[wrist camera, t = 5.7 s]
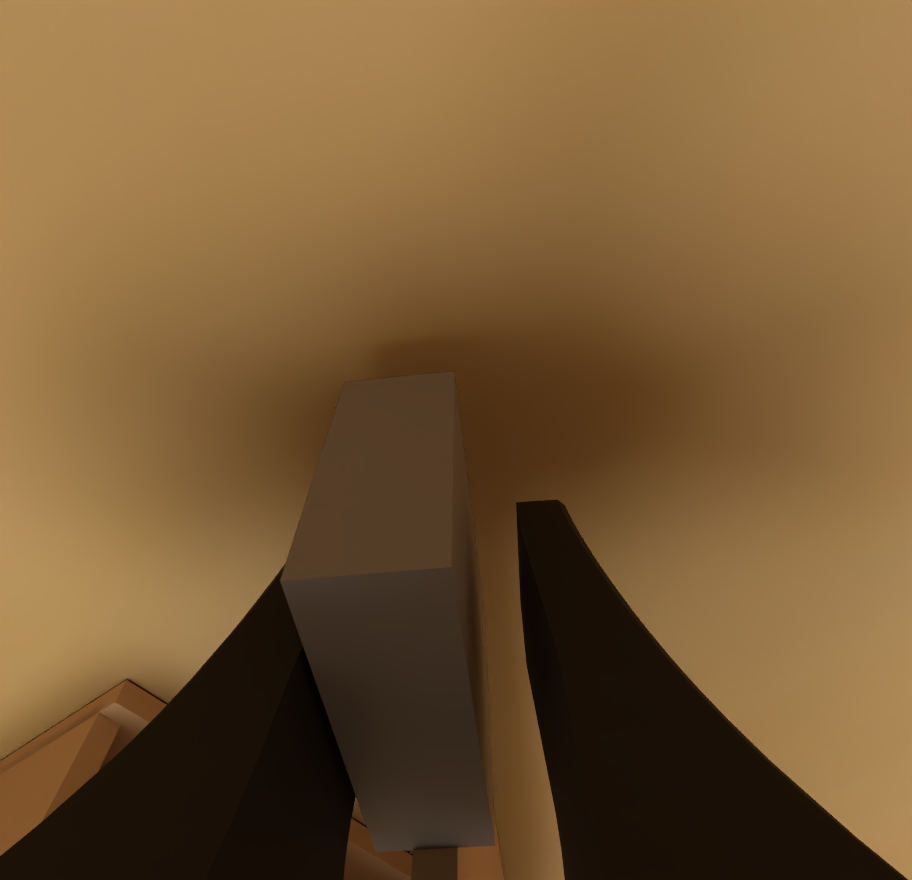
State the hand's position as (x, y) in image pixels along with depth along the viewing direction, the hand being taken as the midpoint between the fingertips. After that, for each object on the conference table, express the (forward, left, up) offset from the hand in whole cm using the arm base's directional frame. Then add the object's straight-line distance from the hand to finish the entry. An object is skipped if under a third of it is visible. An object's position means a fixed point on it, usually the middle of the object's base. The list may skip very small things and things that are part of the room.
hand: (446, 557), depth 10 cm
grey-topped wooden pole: (-6, +4, -2) cm, 7 cm away
